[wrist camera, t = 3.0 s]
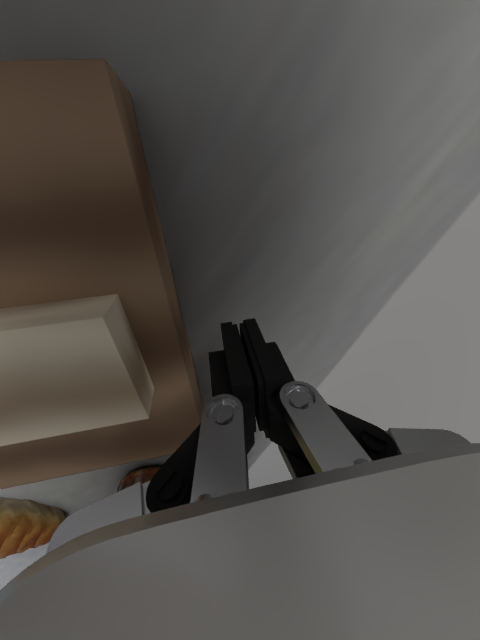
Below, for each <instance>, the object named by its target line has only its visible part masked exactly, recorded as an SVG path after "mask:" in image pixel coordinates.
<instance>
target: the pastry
mask: <svg viewBox="0 0 480 640" xmlns="http://www.w3.org/2000/svg"><path fill="white" fill-rule="evenodd" d="M65 519H66V518H65V515H64V513H63V511H62V510H60V509H59V508H56V507H49V506H46V505H43V504H39V503H37V502H34V501H31V500H19V499H10V498H3V497H0V559H2V558H5V557H7V556H9V555H12V554H15V553H21V552H24V551H25V550H27V549H29V548H36V547H38V546H40V545H44V544H46V543H48V542H49V541H50V540H51V537H52V536H53V534H54V532H55V531H56V529H57V528H58V526H59V525H60V524H61V523H62V522H63V521H64V520H65Z"/></svg>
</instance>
